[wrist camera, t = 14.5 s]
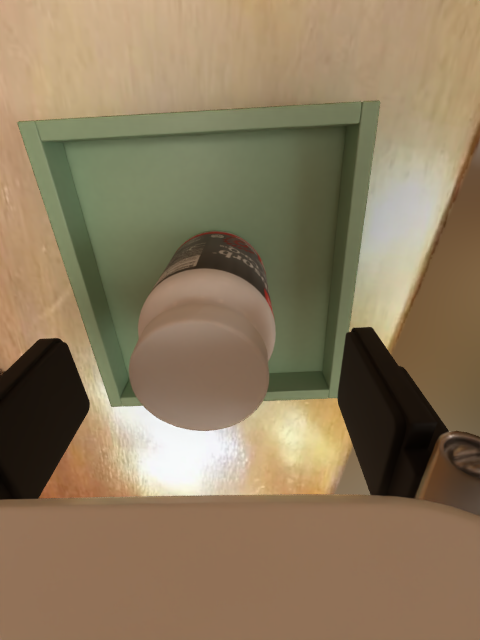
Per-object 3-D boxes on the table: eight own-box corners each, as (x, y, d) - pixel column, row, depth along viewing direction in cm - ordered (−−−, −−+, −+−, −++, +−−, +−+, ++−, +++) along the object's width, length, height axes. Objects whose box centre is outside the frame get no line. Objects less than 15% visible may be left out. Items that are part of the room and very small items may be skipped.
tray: (360, 106, 15) (381, 100, 13) (330, 373, 24) (340, 398, 21) (48, 125, 16) (15, 121, 14) (123, 382, 24) (111, 407, 22)
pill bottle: (283, 282, 19) (320, 394, 11) (213, 332, 21) (195, 464, 12) (223, 206, 17) (206, 267, 8) (150, 268, 19) (74, 373, 10)
